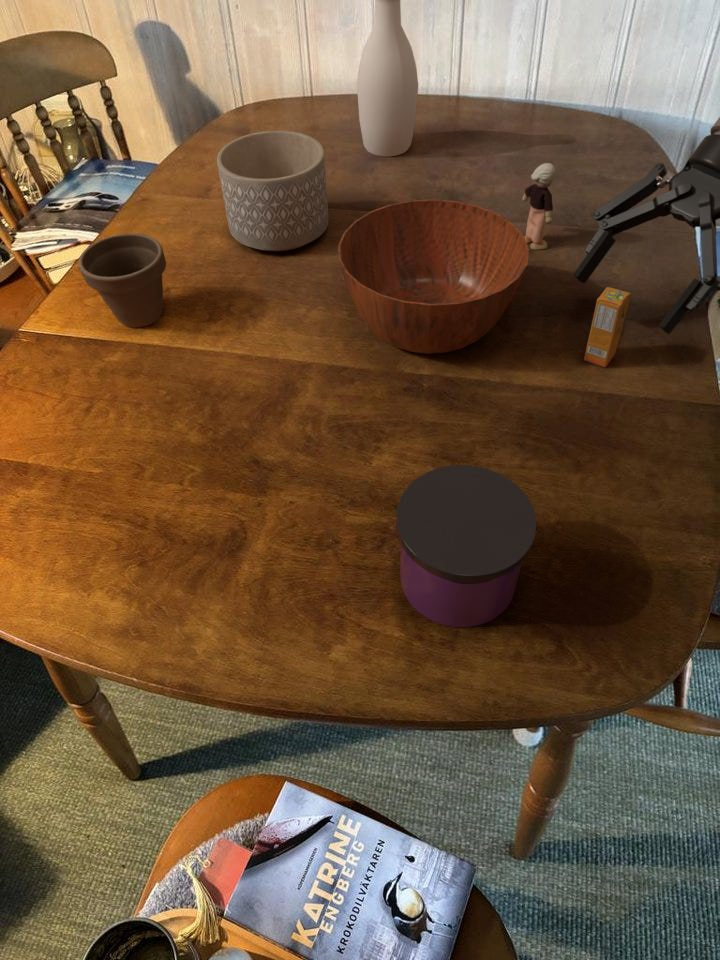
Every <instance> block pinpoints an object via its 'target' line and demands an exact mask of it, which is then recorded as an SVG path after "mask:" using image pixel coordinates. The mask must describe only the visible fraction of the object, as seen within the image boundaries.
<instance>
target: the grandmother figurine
mask: <svg viewBox="0 0 720 960" xmlns="http://www.w3.org/2000/svg"><path fill="white" fill-rule="evenodd" d="M555 173H556V168H555V166H554V165H553V164H552V163H550V162H546V163H545V162H544V163H542V164H540V165H539V166H537V167H536V168H535V170H533V173H532V174H531V175H530V179H531V180H532V181H535V183H533V184H531V185H529V186H528V187H526V188H525V189H524V193H523V196H522V201H523V202H525V203H526V202H528V201H529V205H530V209H529V212H528V218H527V223H526V229H525V235H523V236H524V237H525V240H526V242H527V244H530V245H529V247H530V249H531V250H535V251H537V250H546V249H547V248H548V242H547V241H546V240H544V237H545V235H546V224H551V223H552V222H553V210H554V205H553V193H551V191H550V190H549V187H550V186H551V185H552V184H553V182H554V176H555Z"/></svg>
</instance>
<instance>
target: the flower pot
mask: <svg viewBox="0 0 720 960" xmlns="http://www.w3.org/2000/svg"><path fill="white" fill-rule="evenodd" d="M166 267H167V261H166V256H165V253H164V248H163V246H162V245H161V243H160V242H159V241H158V240H157V239H155V238H154V237H152V236H150V235H147V234H143V233H132V232H131V233H130V232H128V233H119V234H114V235H110V236H107V237H104V238H101V239H100V240H97V241H96V242H94V243H92V244H91V245H89V246H88V247H87V248H86V249H84V250H83V252H82V253H81V254H80V256H79V258H78V269H79V271H80V273H81V276H82V277H83V280H84V282H85V283H86V284H87V285H88V286H89V287H90V288H91V289H93V290H95V291H97V293H98V294H99V295H100V297H101V299H102V300H103V301H104V303H105V304H106V305H107V308H108V309H109V310H110V311H111V313H112V314H113V315H114V317H115V318H116V319H117V321H119V323H120V324H122V325H123V326H125V327H127V328H128V327H129V328H142V327H146V326H149V325H151V324H153V323H155V322H156V321H157V320H159V319H160V317H161V316H162V314H163V310H164V309H163V308H164V289H163V288H164V286H163V285H164V284H163V274H164V272H165V270H166Z"/></svg>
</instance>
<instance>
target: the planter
mask: <svg viewBox="0 0 720 960" xmlns="http://www.w3.org/2000/svg"><path fill="white" fill-rule="evenodd" d="M216 165H217V170H218V175H219V181H220V187H221V191H222V192H221V193H222V197H223V202H224V208H225V213H226V220H227V226H228V230H229V233H230V235H231V236H232V238H233V239H235V240H236V242H238V243H240V244H242V245H244V246H246V247H249V248H252V249H255V250H260V251H263V252H286V251H291V250H292V251H293V250H295V249H298V248H302V247H303V246H305V245H308V244H309V243H312V242H313V241H315V240H317V239H318V238H319V237H320V236H322V235H323V234H324V232H325V231H326V230H327V229H328V228H327V227H328V226H329V220H330V219H329V208H328V207H329V206H328V205H329V203H328V192H327V191H328V189H327V175H326V161H325V150H324V147H323V145H322V143H320V141H318V140H317V139H316V138H314V137H312V136H310V135H307V134H305V133H301V132H297V131H292V130H291V131H290V130H263V131H258V132H253V133H249V134H246V135H242V136H240V137H237V138H235V139H233V140H231V141H229V142H228V143H226V144H225V145H224V146H223V147H221V149H220V150H219V152H218V154H217V156H216Z"/></svg>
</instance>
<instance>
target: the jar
mask: <svg viewBox="0 0 720 960" xmlns="http://www.w3.org/2000/svg"><path fill="white" fill-rule="evenodd" d="M537 524H538V523H537V516H536V513H535V508H534V506H533V505H532V502H531V500H530V499H529V497H528V496H527V494H526V493H525V492H524V491H523V490H522V489H521V487H520V486H518V485H517V484H516V482H514V481H512V480H511V479H510V478H508V477H506V476H504V475H503V474H502V473H499V472H497V471H495V470H492V469H488V468H485V467H481V466H476V465H469V464H456V465H455V464H454V465H447V466H446V465H445V466H441V467H437V468H434V469H432V470H429V471H427V472H425V473H423V474H421V475H419V476H418V477H417V478H415V479H414V480H413V481H411V483H410V484H409V485H408V486H407V487H406V488H405V490H404V491H403V492H402V494H401V495H400V498H399V500H398V503H397V507H396V516H395V526H396V533H397V538H398V540H399V542H400V557H399V559H400V561H399V563H400V564H399V579H400V586H401V589H402V592H403V594H404V596H405V598H406V599H407V601H408V603H409V604H410V605H411V606H412V608H414V609H415V610H416V612H418V613H419V614H420V615H422V616H423V617H424V618H426V619H428V620H430V621H432V622H434V623H437V624H439V625H442V626H446V627H452V628H472V627H477V626H481V625H484V624H486V623H488V622H490V621H493V620H494V619H496V618H497V617H499V616H500V615H501V614H502V613H503V612H505V610H506V609H507V608H508V607H509V605H510V604H511V602H512V600H513V598H514V596H515V592H516V588H517V584H518V580H519V577H520V574H521V573H520V572H521V569H522V565H523V562H524V561H525V560H526V559H527V558H528V555H529V554H530V552H531V550H532V548H533V545H534V542H535V538H536V533H537Z"/></svg>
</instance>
